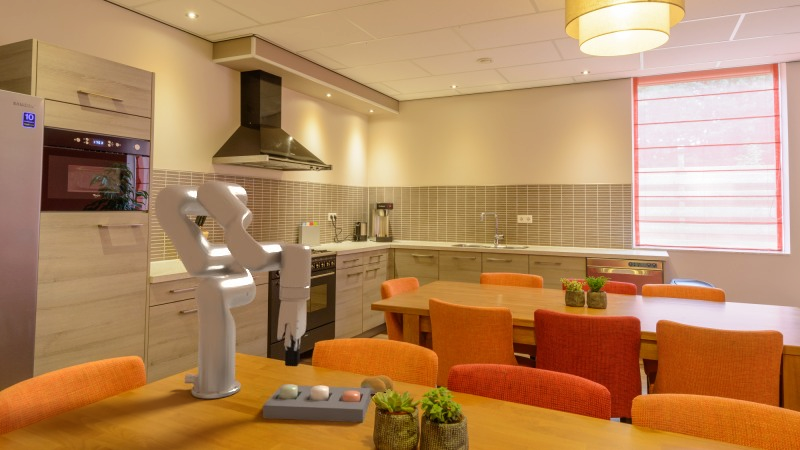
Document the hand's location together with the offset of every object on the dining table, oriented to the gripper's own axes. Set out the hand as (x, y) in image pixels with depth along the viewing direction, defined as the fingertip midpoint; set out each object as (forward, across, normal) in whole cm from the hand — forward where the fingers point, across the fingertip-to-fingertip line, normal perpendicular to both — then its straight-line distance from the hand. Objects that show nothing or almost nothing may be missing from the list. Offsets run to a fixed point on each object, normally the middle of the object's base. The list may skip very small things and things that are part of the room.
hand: (292, 365), depth 117 cm
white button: (+9, 0, +8) cm, 12 cm away
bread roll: (+11, -14, +20) cm, 27 cm away
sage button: (+9, 0, 0) cm, 9 cm away
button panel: (+10, 0, +8) cm, 13 cm away
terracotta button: (+10, 0, +16) cm, 18 cm away
